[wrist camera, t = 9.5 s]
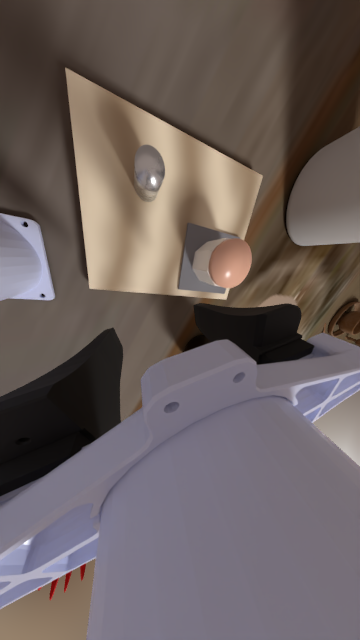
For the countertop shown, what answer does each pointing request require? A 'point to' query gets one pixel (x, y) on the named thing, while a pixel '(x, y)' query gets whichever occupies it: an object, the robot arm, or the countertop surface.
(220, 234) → the pad
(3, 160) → the countertop surface
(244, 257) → the brown egg in cup
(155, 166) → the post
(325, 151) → the cylinder vase
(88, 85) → the board
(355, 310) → the place setting
